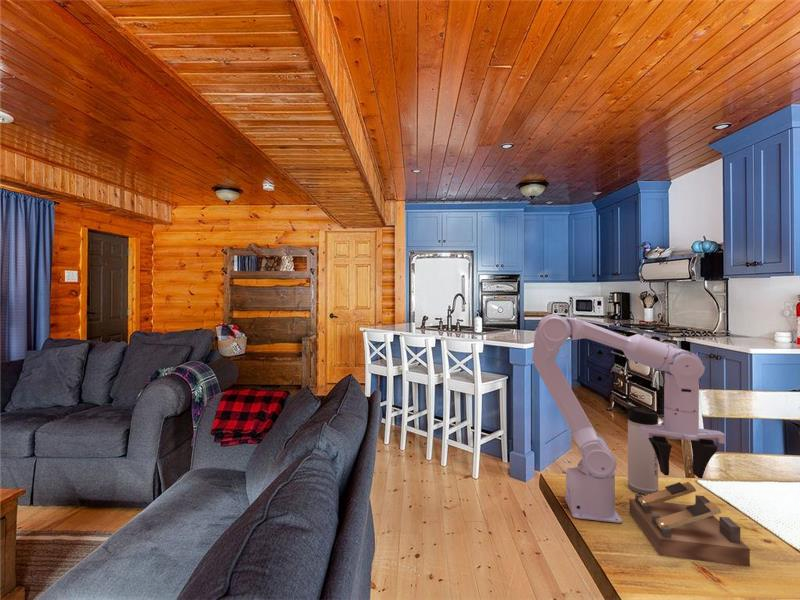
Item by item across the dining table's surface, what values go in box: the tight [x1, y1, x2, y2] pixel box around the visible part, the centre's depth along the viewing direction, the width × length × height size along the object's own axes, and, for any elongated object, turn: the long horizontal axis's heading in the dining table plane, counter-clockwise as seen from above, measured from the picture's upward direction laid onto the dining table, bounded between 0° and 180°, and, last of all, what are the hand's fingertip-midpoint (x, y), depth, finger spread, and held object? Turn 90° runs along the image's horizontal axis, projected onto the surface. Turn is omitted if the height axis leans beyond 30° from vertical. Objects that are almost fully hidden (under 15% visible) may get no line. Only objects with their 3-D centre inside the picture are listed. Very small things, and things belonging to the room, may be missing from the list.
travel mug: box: [626, 405, 659, 495], centre depth 93 cm, size 6×7×20 cm
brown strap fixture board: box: [628, 493, 751, 567], centre depth 74 cm, size 14×14×6 cm
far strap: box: [638, 481, 697, 506], centre depth 78 cm, size 11×3×1 cm, turn 78°
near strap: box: [655, 501, 722, 529], centre depth 70 cm, size 10×3×1 cm, turn 78°
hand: (681, 474), depth 78 cm, fingers open, 5 cm apart
